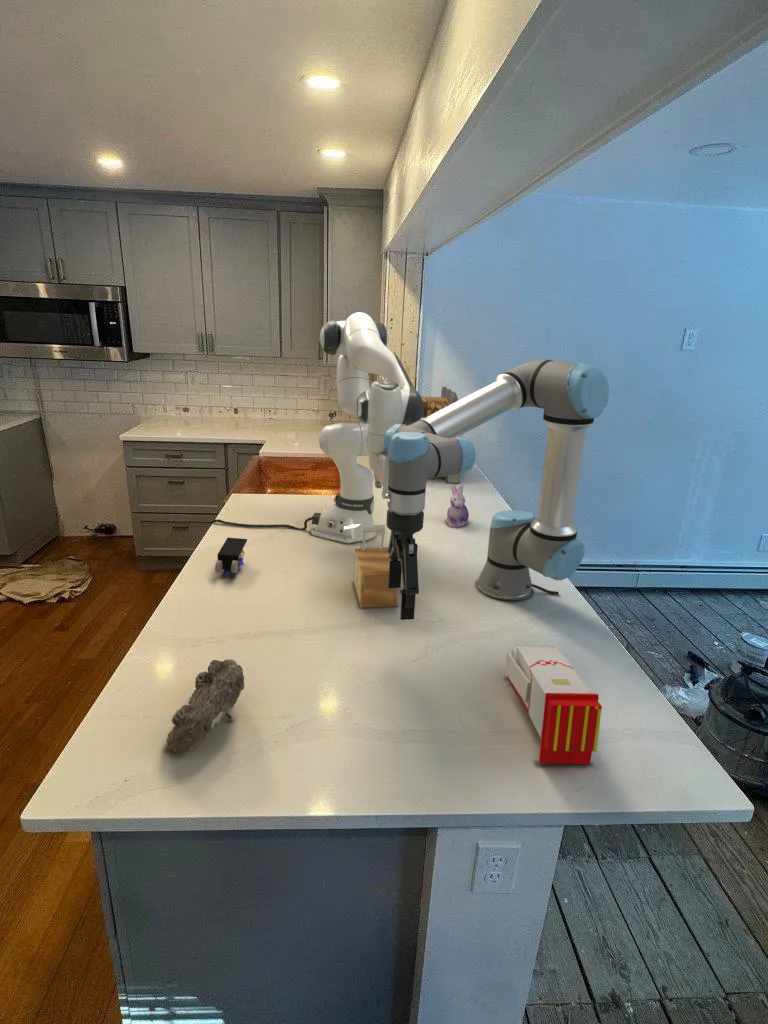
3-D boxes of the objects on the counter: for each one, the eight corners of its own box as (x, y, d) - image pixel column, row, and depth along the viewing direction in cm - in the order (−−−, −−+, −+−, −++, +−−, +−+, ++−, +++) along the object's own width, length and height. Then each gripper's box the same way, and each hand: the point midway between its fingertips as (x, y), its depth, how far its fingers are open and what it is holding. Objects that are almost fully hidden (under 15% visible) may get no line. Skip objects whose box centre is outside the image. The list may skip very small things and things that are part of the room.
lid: (354, 551, 161) (355, 522, 158) (387, 550, 163) (389, 522, 160) (361, 576, 147) (362, 544, 144) (398, 574, 148) (399, 543, 145)
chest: (353, 582, 163) (354, 553, 160) (386, 581, 165) (388, 552, 162) (360, 607, 150) (361, 576, 147) (396, 606, 151) (398, 575, 148)
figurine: (454, 529, 206) (457, 490, 201) (439, 520, 214) (442, 482, 209) (475, 526, 210) (479, 487, 205) (459, 517, 218) (463, 479, 213)
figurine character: (238, 584, 162) (249, 557, 175) (236, 562, 158) (247, 536, 172) (215, 584, 161) (227, 556, 175) (212, 561, 158) (225, 535, 171)
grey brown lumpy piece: (192, 660, 117) (244, 628, 112) (224, 691, 120) (276, 661, 115) (142, 746, 98) (202, 712, 93) (182, 779, 101) (242, 748, 96)
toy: (554, 629, 125) (611, 701, 96) (548, 684, 128) (602, 772, 98) (500, 628, 125) (540, 700, 95) (495, 684, 127) (533, 771, 98)
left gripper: (404, 452, 142) (401, 504, 147) (387, 435, 161) (385, 482, 166) (379, 452, 141) (377, 505, 145) (365, 435, 160) (364, 482, 164)
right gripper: (377, 490, 125) (374, 576, 133) (399, 534, 102) (394, 635, 110) (410, 490, 127) (405, 575, 134) (439, 532, 104) (431, 632, 111)
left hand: (381, 492), depth 156 cm, fingers open, 8 cm apart
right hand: (400, 602), depth 122 cm, fingers open, 13 cm apart
